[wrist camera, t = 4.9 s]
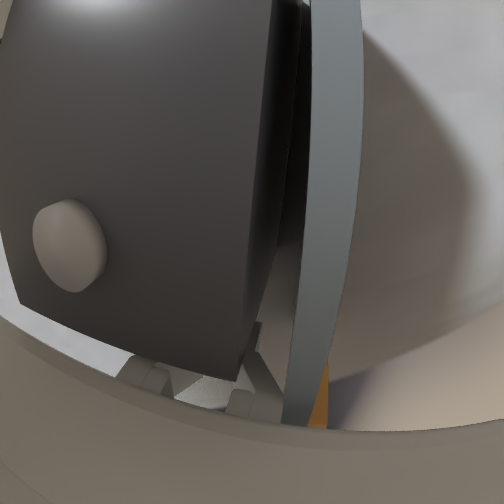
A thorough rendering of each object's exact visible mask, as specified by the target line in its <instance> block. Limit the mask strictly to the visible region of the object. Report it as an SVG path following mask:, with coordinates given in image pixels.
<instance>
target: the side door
mask: <svg viewBox="0 0 504 504" xmlns="http://www.w3.org/2000/svg"><path fill="white" fill-rule="evenodd" d="M310 38H311V84H310V125H309V150H308V169H307V186H306V201H305V214H304V227H303V239H302V250H301V260H300V270H299V280H298V289H297V298H296V307H295V315H294V323H293V331H292V339H291V347H290V354H289V362H288V369H287V376H286V382H285V389H284V399H283V410H282V416H281V423H280V424H286V425H293V426H301V427H310V428H320V429H326V427H327V425H328V354H329V350H330V346H331V341H332V337H333V333H334V329H335V324H336V320H337V315H338V311H339V306H340V301H341V296H342V291H343V286H344V281H345V275H346V270H347V264H348V258H349V252H350V246H351V239H352V232H353V225H354V218H355V210H356V201H357V192H358V183H359V172H360V160H361V147H362V129H363V101H364V61H363V34H362V19H361V7H360V0H310Z"/></svg>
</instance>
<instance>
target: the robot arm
mask: <svg viewBox="0 0 504 504" xmlns="http://www.w3.org/2000/svg"><path fill="white" fill-rule="evenodd" d="M12 2H13V0H0V39H1V38H2V37H3V33H4V29H5V25H6V21H7V18H8V14H9V11H10V8H11V5H12ZM261 331H262V323H261V322H255V323H254V326H253V330H252V333H251V336H250V339H249V342H248V346H247V349H246V352H245V355H244V358H243V362H242V365H241V368H240V371H239V374H238V377H237V380H236V382H232V381H230V382H232V385H233V388H234V390H232V393H231V396H230V399H229V402H228V405H227V407H226V410H225V413H223V412H219V411H215V410H211V409H207V408H204V407H200V406H196V405H193V404H189V403H186V402H183V401H179V400H176V399H174V396H176V395H177V394H179V393H180V392H182V391H183V390H184V389H186V388H187V387H189V386H190V385H192V384H193V383H195V382H196V381H197V380H199V379H200V378H202V377H203V374H199V373H195V372H192V371H188V370H184V369H181V368H177V367H174V366H171V365H167V364H164V363H161V362H158V361H154V360H151V359H148V358H145V357H142V356H139V355H133V356H131V357H130V358H129V359H128V361H127V362H126V363H125V365H124V366H123V367H122V369H121V370H120V372H119V373H118V374H117V376H116V377H113V376H110V375H108V374H106V373H103V372H101V371H99V370H97V369H94V368H92V367H90V366H88V365H86V364H84V363H82V362H80V361H77V360H75V359H73V358H71V357H69V356H67V355H66V354H64V353H62V352H60V351H58V350H56V349H54V348H52V347H51V346H49V345H47V344H45V343H43V342H42V341H40V340H38V339H36V338H35V337H33V336H31V335H30V334H28V333H26V332H25V331H23V330H22V329H20V328H18V327H17V326H15V325H14V324H12V323H11V322H9V321H8V320H6V319H5V318H3V317H2V316H0V504H504V419H498V420H493V421H488V422H483V423H477V424H471V425H466V426H458V427H450V428H441V429H430V430H417V431H387V432H385V431H372V432H371V431H346V430H330V429H320V428H310V427H301V426H293V425H286V424H280V423H281V416H282V410H283V399H284V395H283V393H282V391H281V390H280V388H279V386H278V385H277V383H276V381H275V380H274V378H273V376H272V374H271V373H270V371H269V369H268V368H267V366H266V364H265V362H264V361H263V359H262V357H261V355H260V354H259V352H258V349H259V344H260V337H261ZM205 376H207V375H205ZM210 377H211V376H210ZM214 378H215V377H214ZM226 381H228V380H226Z"/></svg>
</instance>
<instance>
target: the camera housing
mask: <svg viewBox="0 0 504 504" xmlns="http://www.w3.org/2000/svg"><path fill="white" fill-rule="evenodd" d="M302 4H303V0H13V2H12V5H11V8H10V11H9V14H8V18H7V21H6V25H5V29H4V33H3V37H2V41H1V46H0V232H1V236H2V241H3V246H4V250H5V254H6V258H7V262H8V266H9V269H10V273H11V276H12V280H13V283H14V286H15V290H16V293H17V296H18V299H19V302H20V304H22V305H24V306H26V307H27V308H29V309H31V310H33V311H35V312H37V313H39V314H41V315H43V316H45V317H47V318H49V319H51V320H53V321H55V322H57V323H60V324H62V325H64V326H66V327H68V328H71V329H73V330H75V331H77V332H80V333H82V334H84V335H87V336H89V337H91V338H94V339H96V340H99V341H101V342H104V343H106V344H109V345H112V346H114V347H117V348H120V349H122V350H125V351H128V352H131V353H134V354H136V355H139V356H142V357H145V358H148V359H151V360H154V361H158V362H161V363H164V364H167V365H171V366H174V367H177V368H181V369H184V370H188V371H192V372H195V373H199V374H203V375H207V376H211V377H215V378H219V379H223V380H228V381H232V382H236V380H237V377H238V374H239V371H240V368H241V365H242V362H243V358H244V355H245V352H246V349H247V346H248V342H249V339H250V336H251V333H252V330H253V326H254V323H255V320H256V317H257V313H258V310H259V307H260V303H261V300H262V297H263V294H264V290H265V287H266V284H267V280H268V277H269V273H270V270H271V267H272V263H273V260H274V256H275V253H276V248H277V241H278V233H279V226H280V218H281V210H282V202H283V194H284V186H285V178H286V170H287V161H288V152H289V143H290V134H291V125H292V116H293V106H294V96H295V86H296V76H297V65H298V54H299V43H300V30H301V18H302Z"/></svg>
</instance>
